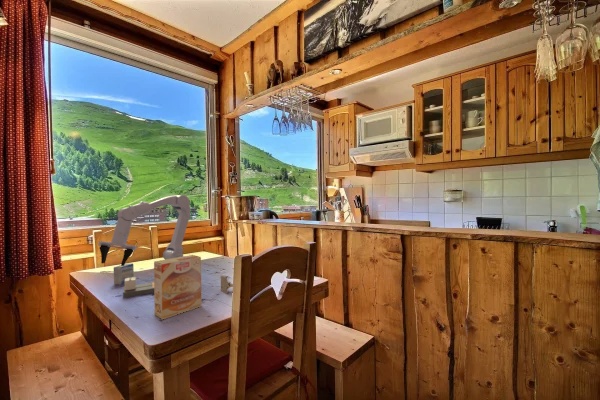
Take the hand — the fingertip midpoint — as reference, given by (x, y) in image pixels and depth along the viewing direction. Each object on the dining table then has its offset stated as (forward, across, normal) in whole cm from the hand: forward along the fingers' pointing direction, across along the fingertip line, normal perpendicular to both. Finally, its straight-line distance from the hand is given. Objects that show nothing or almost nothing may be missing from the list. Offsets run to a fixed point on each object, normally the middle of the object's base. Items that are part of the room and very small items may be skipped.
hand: (112, 264), depth 119 cm
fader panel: (+10, +14, +2) cm, 18 cm away
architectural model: (+5, +50, -10) cm, 51 cm away
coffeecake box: (+11, +33, -26) cm, 43 cm away
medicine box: (+11, +1, +21) cm, 23 cm away
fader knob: (+9, +9, +1) cm, 13 cm away
